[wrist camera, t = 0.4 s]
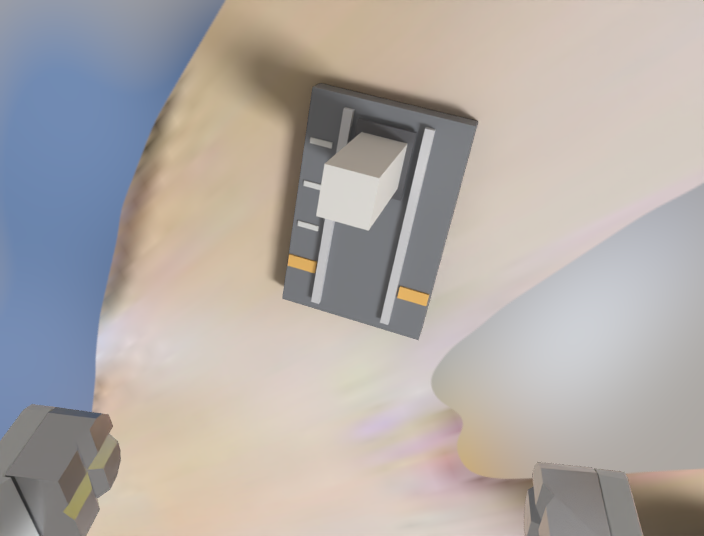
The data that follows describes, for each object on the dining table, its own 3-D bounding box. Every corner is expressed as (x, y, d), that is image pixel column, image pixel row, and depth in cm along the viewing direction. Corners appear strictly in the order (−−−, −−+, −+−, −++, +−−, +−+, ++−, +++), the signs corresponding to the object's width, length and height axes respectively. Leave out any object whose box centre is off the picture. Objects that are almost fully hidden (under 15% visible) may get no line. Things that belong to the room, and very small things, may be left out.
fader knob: (359, 117, 52) (319, 148, 43) (417, 131, 52) (389, 166, 43) (347, 184, 55) (307, 226, 46) (401, 199, 54) (372, 244, 45)
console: (320, 82, 55) (310, 87, 52) (478, 121, 52) (475, 127, 50) (289, 289, 64) (280, 301, 62) (421, 329, 62) (417, 343, 60)
